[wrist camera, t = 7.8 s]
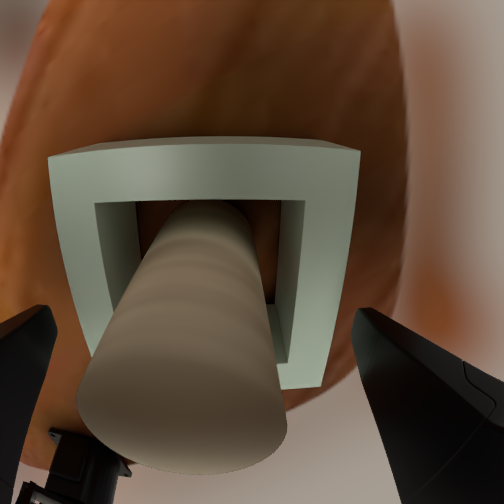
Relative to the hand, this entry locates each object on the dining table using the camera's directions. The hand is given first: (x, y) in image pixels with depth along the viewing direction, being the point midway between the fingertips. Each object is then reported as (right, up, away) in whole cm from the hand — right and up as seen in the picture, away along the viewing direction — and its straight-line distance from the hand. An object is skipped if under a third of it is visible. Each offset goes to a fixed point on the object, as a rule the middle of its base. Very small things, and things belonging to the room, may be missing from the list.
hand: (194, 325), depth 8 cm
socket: (0, +2, +5) cm, 6 cm away
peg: (0, +2, +5) cm, 6 cm away
